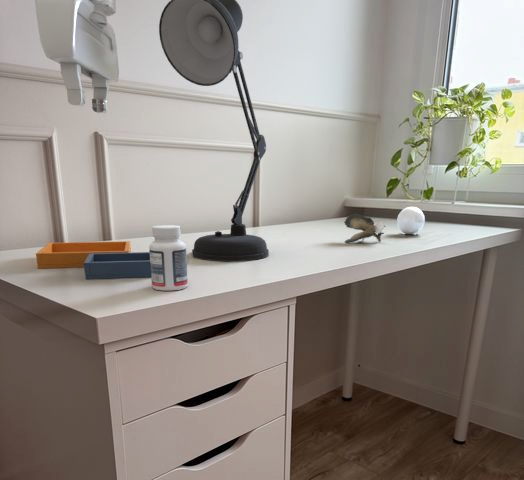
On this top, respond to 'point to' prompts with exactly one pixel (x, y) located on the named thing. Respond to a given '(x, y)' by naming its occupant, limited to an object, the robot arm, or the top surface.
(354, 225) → the eagle figurine
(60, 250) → the amber tray
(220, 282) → the top surface
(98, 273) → the slate tray
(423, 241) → the top surface
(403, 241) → the top surface
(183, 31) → the desk lamp
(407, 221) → the white egg
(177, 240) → the pill bottle
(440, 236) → the top surface
